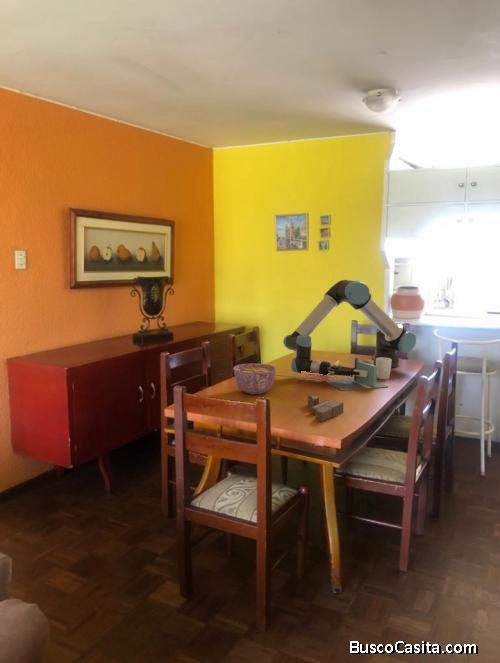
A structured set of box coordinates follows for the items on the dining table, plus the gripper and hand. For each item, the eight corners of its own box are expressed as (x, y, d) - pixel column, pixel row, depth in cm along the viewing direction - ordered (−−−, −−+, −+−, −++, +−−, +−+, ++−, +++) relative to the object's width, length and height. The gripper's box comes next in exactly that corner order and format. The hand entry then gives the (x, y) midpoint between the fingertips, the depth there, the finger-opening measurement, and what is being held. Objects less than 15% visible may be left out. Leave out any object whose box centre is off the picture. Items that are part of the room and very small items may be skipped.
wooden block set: (345, 399, 213) (322, 409, 198) (344, 412, 213) (322, 423, 199) (309, 392, 223) (285, 401, 209) (309, 404, 224) (285, 415, 210)
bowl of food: (268, 400, 229) (268, 374, 227) (226, 395, 236) (226, 370, 234) (281, 389, 248) (281, 365, 246) (242, 385, 255) (242, 362, 253)
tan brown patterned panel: (373, 380, 266) (374, 357, 264) (374, 380, 265) (375, 357, 263) (353, 381, 263) (354, 358, 261) (354, 382, 261) (355, 358, 260)
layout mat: (367, 377, 271) (367, 376, 271) (388, 387, 252) (388, 386, 252) (323, 380, 264) (323, 379, 264) (341, 390, 245) (341, 389, 245)
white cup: (378, 375, 277) (379, 356, 275) (392, 377, 272) (393, 358, 271) (372, 378, 271) (373, 359, 269) (387, 380, 266) (388, 361, 264)
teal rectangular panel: (356, 380, 261) (356, 361, 259) (358, 380, 262) (359, 361, 260) (373, 386, 250) (374, 366, 248) (375, 386, 250) (376, 366, 249)
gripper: (325, 373, 269) (370, 378, 258) (315, 378, 258) (362, 384, 246) (326, 358, 268) (371, 363, 257) (316, 363, 256) (363, 369, 245)
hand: (366, 373), depth 252 cm, fingers closed
